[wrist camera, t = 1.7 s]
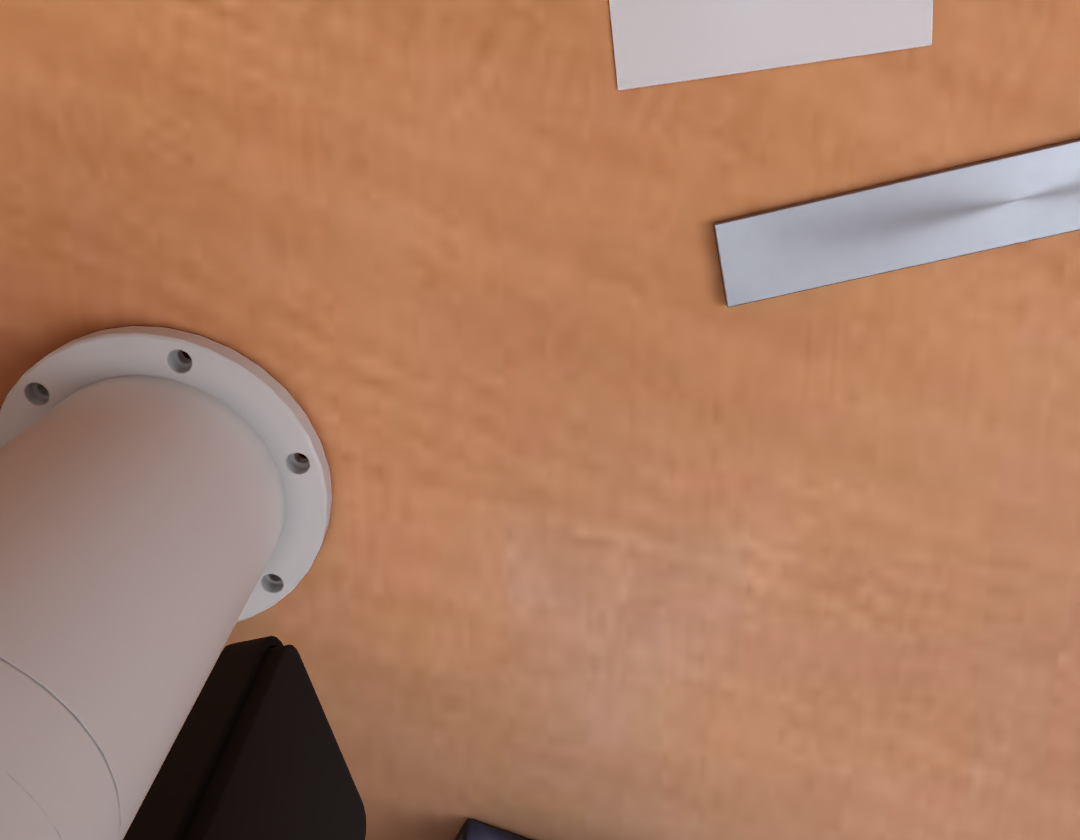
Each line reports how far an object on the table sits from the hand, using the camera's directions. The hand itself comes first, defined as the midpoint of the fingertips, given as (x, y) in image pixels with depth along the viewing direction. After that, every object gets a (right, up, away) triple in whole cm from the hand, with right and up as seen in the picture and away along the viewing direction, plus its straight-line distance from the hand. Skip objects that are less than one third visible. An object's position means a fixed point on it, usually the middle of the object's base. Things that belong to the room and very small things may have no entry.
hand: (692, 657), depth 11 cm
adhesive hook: (+5, +17, +17) cm, 25 cm away
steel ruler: (+14, +10, +20) cm, 27 cm away
